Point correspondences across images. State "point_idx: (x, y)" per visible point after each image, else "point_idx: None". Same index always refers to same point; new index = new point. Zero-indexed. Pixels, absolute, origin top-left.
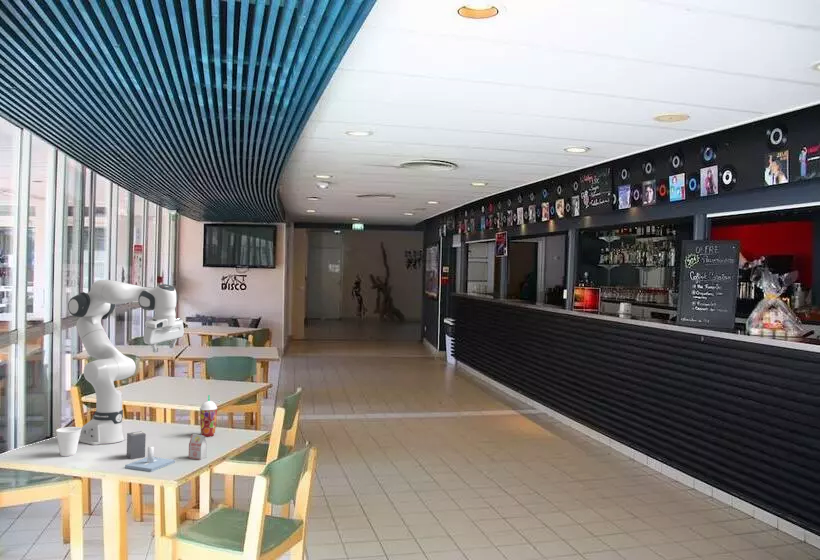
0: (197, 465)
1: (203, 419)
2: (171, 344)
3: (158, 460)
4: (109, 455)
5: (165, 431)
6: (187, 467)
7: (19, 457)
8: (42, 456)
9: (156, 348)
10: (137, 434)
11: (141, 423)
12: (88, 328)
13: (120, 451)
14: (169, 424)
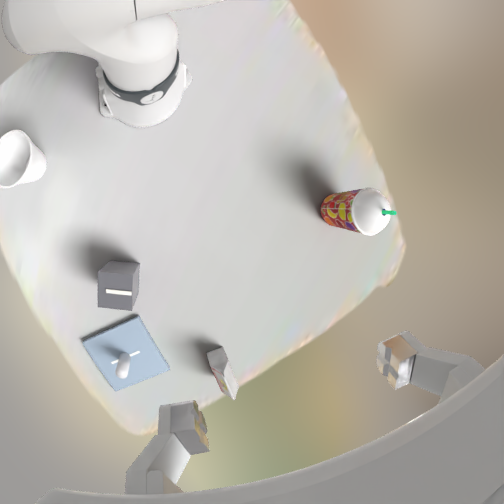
0: None
1: (339, 217)
2: (401, 377)
3: (142, 355)
4: (86, 228)
5: (285, 105)
6: (176, 401)
7: None
8: None
9: (186, 457)
10: (113, 303)
11: (281, 17)
12: None
13: (116, 209)
14: (321, 62)
